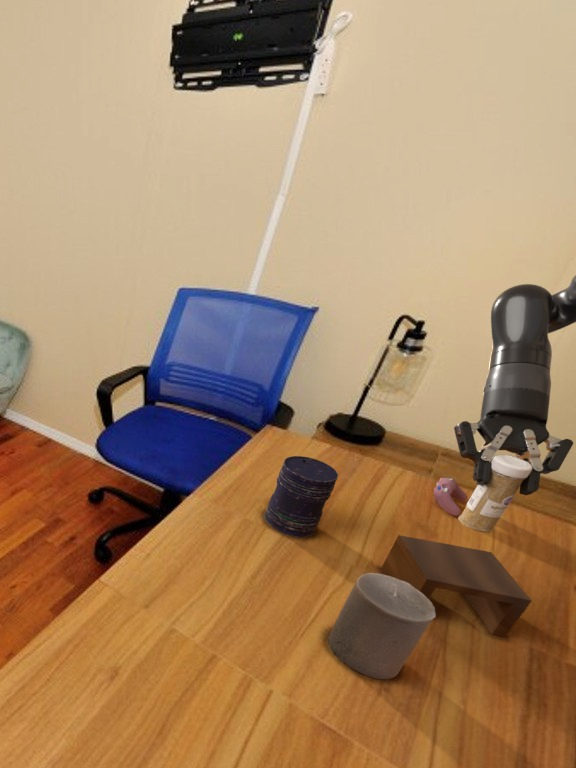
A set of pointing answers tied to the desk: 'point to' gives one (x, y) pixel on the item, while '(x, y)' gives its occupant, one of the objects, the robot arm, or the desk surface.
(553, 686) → the desk surface
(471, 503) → the sprinkles bottle
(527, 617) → the desk surface
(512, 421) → the robot arm
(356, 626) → the pillar candle
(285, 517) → the navy ridged cylinder
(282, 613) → the desk surface
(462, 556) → the shelf
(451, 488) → the video game controller
